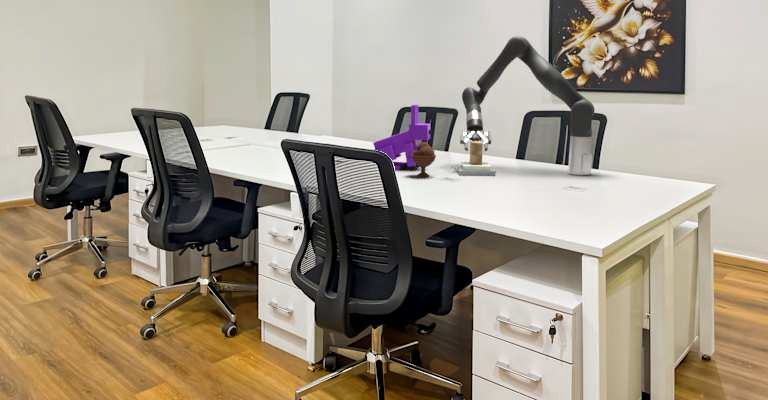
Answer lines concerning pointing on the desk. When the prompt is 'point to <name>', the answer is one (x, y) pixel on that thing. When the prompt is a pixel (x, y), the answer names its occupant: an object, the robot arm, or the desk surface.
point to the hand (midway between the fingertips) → (476, 150)
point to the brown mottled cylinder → (476, 153)
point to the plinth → (476, 173)
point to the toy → (405, 141)
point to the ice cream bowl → (423, 157)
